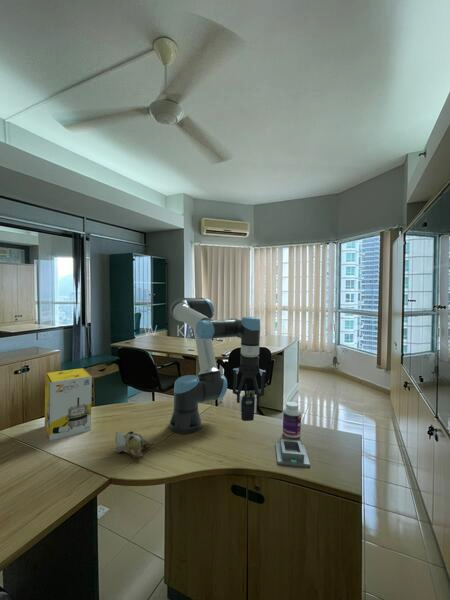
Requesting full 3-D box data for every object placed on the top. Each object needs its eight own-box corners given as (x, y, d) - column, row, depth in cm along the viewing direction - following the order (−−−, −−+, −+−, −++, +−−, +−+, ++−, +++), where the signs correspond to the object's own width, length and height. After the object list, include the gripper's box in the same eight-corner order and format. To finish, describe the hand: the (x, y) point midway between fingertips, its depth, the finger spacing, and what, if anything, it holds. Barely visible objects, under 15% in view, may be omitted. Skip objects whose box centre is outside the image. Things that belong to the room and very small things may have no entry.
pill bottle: (300, 440, 127) (302, 408, 126) (282, 438, 128) (283, 406, 128) (299, 431, 135) (300, 401, 134) (282, 429, 136) (283, 399, 136)
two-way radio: (241, 422, 114) (242, 385, 113) (239, 417, 118) (240, 381, 118) (255, 421, 115) (256, 384, 115) (252, 416, 119) (253, 381, 119)
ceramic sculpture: (123, 422, 120) (156, 429, 117) (122, 442, 121) (155, 449, 117) (108, 434, 110) (143, 442, 107) (106, 456, 110) (141, 465, 107)
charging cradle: (277, 464, 109) (278, 455, 108) (275, 444, 122) (275, 436, 122) (310, 467, 107) (310, 457, 107) (303, 447, 121) (304, 439, 121)
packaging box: (49, 440, 120) (50, 382, 120) (44, 426, 133) (45, 373, 132) (90, 430, 131) (91, 376, 130) (82, 417, 143) (83, 368, 143)
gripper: (226, 355, 113) (224, 413, 114) (273, 358, 111) (270, 417, 112) (228, 351, 120) (226, 405, 121) (272, 354, 118) (270, 409, 119)
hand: (247, 411), depth 117 cm, fingers closed on two-way radio, 5 cm apart
